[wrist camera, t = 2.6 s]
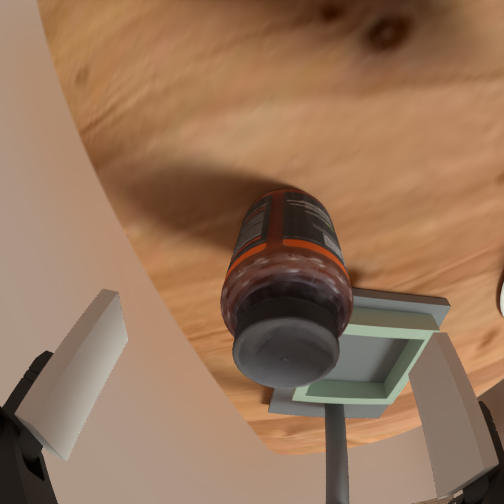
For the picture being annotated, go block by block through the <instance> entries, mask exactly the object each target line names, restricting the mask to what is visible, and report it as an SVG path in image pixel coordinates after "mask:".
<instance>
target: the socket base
mask: <svg viewBox="0 0 504 504" xmlns="http://www.w3.org/2000/svg"><path fill="white" fill-rule="evenodd" d="M352 293H353V313H352V316H351V320H350V321H349V324H348V326H347V327H346V329H345V331H344V332H343V334H342V335H341V336H340V337H339V338H338V340H339V348H340V354H339V359H338V361H337V363H336V366H335V368H333V369H332V371H331V372H330V373H329V374H328V375H327V376H325V377H324V378H323V379H321V380H319V381H317V382H315V383H313V384H310V385H307V386H304V387H298V388H291V389H282V388H274V389H273V392H272V396H271V400H270V403H269V409H268V413H277V414H286V415H298V416H311V417H325V433H326V504H349V480H348V479H349V477H348V456H347V440H346V426H345V418H379V417H380V416H381V414H382V413H383V412H384V410H385V409H386V408H387V407H388V405H389V404H392V403H393V402H394V400H395V399H396V398H397V396H398V395H399V394H400V392H401V391H402V389H403V388H404V387H405V385H406V384H407V382H408V381H409V376H408V373H409V372H410V370H411V369H412V367H413V366H414V364H415V362H416V361H417V359H418V357H419V356H420V354H421V353H422V351H423V349H424V347H425V346H426V344H427V342H428V341H429V339H430V337H431V335H432V334H433V332H440V329H439V327H440V325H441V324H442V322H443V320H444V318H445V316H446V314H447V312H448V310H449V309H450V307H451V306H450V304H449V302H448V301H447V299H443V298H434V297H425V296H416V295H407V294H398V293H389V292H381V291H373V290H364V289H356V288H352Z"/></svg>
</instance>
